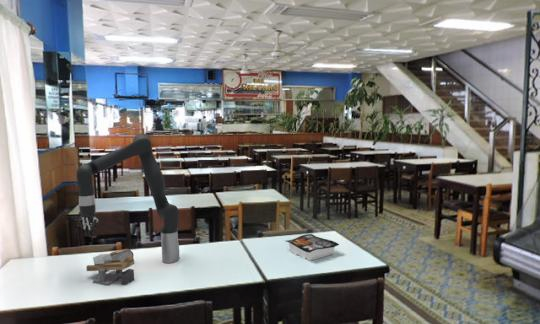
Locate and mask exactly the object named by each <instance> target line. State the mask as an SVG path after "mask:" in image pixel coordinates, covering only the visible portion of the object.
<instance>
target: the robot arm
mask: <svg viewBox="0 0 540 324" xmlns="http://www.w3.org/2000/svg"><path fill="white" fill-rule="evenodd" d="M136 156H138V157H139V160H140V163H141V167H142V171H143V175H144V178H145V181H146V184H147V186H148V188H149V190H150V194H151V196H152V198H153V201H154V205H155V209H156V212H157V216H158V217H159V218H160V219H162V220H164V221H163V225H162V226H160V240H161V241H160V242H161V261H162V263H164V264H174V263H177V262H178V261H179V259H180V257H181V256H180V243H179V238H178V237H179V236H178V235H179V233H178V228H179V226H180V225H179V224H180V222H179V220H180V219H179V217H180V213H179V212H180V211H179V209H178V207H177V206H176V205H174V204H171V203H169V201H168V199H167V196H166V192H165V191H166V181H165V177H164V174H163V171H162V170H161V168H160V165H159V163H158V161H157V160H156V158H155V155H154V152H153V149H152V142H151V139H150V138H149V136H148V135H146V134H144V133H139V134H136V135H135V136H134V137H133V140H132V142H130V143H129V144H128V145H126V146H124V147H122V148H119V149H117V150H113V151H110V152H108V153H106V154H103V155H101V156H99V157H98V158H96V159H93V160H91V161H89V162H87V163H85V164H82V165H81V166H79V167H78V169H76V179H77V186H78V206H79V208H78V209H79V214H80V216H79V217H77V221H78V223H79V226H80V228H81V229H83V230H84V236H85V237H89V238H92V237H94V236H95V235H94V234H95V232H94V230H95V229H97V228H98V225H99V222H100V218H97V217H96V214H95V213H96V210H97V209H96V197H95V189H94V184H93V176H94V175H97V174H98V173H100V172H103V171H106V170H108V169H110V168H112V167H114V166H116V165H117V164H120V163H122V162H123V161H126V160H128V159H131V158H133V157H136Z"/></svg>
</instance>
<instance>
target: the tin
mask: <svg viewBox="0 0 540 324" xmlns="http://www.w3.org/2000/svg"><path fill="white" fill-rule="evenodd" d="M109 254H111V259H112V260H122V259H125V258H127V257H129V256H131V255H133V257H134V252H133V251H132V250H131V249H129V248H123V249H119V250H115V251H111V252H110V253H109Z"/></svg>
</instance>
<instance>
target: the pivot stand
mask: <svg viewBox="0 0 540 324" xmlns="http://www.w3.org/2000/svg"><path fill="white" fill-rule="evenodd" d="M123 270H124V269H123ZM123 270H111V271H110V272H108V273H107V272H106V270H105V269H99V271H98V278H96V279H93V280H92V283H94V284H97V285H102V286H106V287H109V286H111V285H112V284H115V283H117V282H119V281H120V285H125V286H128V285H129V284H131V283H132V282H134V281H135V269H133V268H128V269H126V270H124V271H123Z"/></svg>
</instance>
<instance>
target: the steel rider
mask: <svg viewBox="0 0 540 324" xmlns="http://www.w3.org/2000/svg"><path fill="white" fill-rule="evenodd" d="M92 260H93V265H106V264H111V263H112V259H111V254H110V253H102V254H99V255H95V256H94V257H93V256H92Z"/></svg>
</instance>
